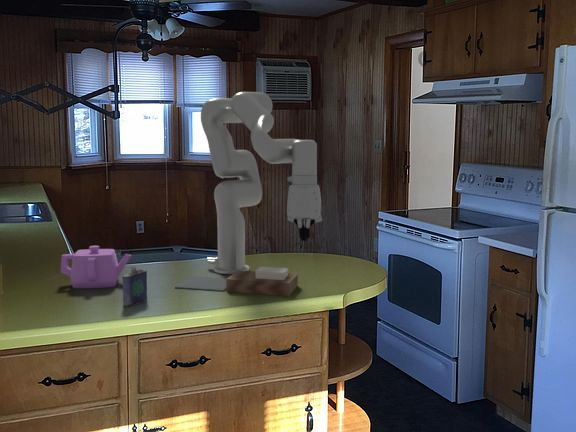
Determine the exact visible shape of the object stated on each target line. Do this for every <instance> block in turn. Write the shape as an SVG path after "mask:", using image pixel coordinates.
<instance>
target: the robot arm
mask: <svg viewBox="0 0 576 432" xmlns="http://www.w3.org/2000/svg"><path fill="white" fill-rule="evenodd" d="M272 111H273V102H272V99H271V98H270V96H269V95H268V94H266V93H265V92H260V91H240V92H237V93H235V94H234V95H233V96H232V97H231V98H229V97H217V98H211V99H208V100H206V101H205V102H204V104H203V105H202V107H201V110H200V122H201V126H202V129H203V131H204V134H205V136H206V140H207V144H208V148H209V156H210V158H211V164H212V168H213V171H214V174H215V176H217V177H218V178H224V179H225V178H239V179H237V180H234V179H233V180H225V181H222V182H220V183H218V184H217V185H216V186H215V188H214V192H213V199H214V202H215V208H216V216H217V220H216V221H217V226H216V227H217V256H216V257H207V258H206V263H207V264H208V265H214V267H213V271H214V272H215V273H217V274H221V275H232V274H234V273H235V272H236V271H238V270H241V271H250V266H249V265H248V264H246V222H245V221H246V220H245V217H244V215H243V213H242V211H241V210H240V208H244V207H245V208H246V207H253V206H257V205H259V203H260V202H261V201H262V197H263V188H262V182H261V178H260V174H259V167H258V162H257V160H256V158H255V156H254V154H253V153H252V152H250V151H249V150H247V149H235V146H234V140H233V137H232V134H231V133H230V132H229V129H227V128H226V127H225V125H224V124H244V125H245V127H247V129H248V130H249V131H250V132H251V133H250V140H251V146H252V148H253V150H254V151H255V153H256V154H258V156H260V158H261V159H262V160H263V161H265V162H266V163H268V164H272V165H275V164H276V165H277V164H291V165H292V166H291V175H290V176H287V179H286V180H287V182H290V183H291V184H290V185H289V187H288V192H287V194H288V195H287V202H286V204H287V205H286V206H287V207H286V214H287V221H288V222H291V223H294V224H295V225H296V226H297V227H298V228H299V238H300V241H301V242H308V241H309V239H310V237H311V227H312V226H313V225H314V224H316V223H320V222H322V221H323V218H322V217H323V216H322V214H323V213H322V212H323V211H322V210H323V206H322V197H321V196H322V195H321V188H320V185H319V184H318V144H317V142H316V141H315V140H314V139H300V138H299V139H298V138H272V137H271V136H270V135H269V132H270V131H271V130H272V129H273V127H274V123H275V118H274V116H273V114H272ZM304 219H305V220H306V222H305V224H304Z"/></svg>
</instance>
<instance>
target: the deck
mask: <svg viewBox="0 0 576 432" xmlns="http://www.w3.org/2000/svg"><path fill="white" fill-rule="evenodd" d="M298 275H299V274H298V273H290V272H288V276H287V277H286V278H285V279H284V280H272V279H256V270H254V271H253V270H249V271H241V270H238V271H236V272H235V273H234V274H230V275H229V277H227V278H225V279H226V293H242V294H255V295H271V296H282V297H283V296H285V297H290V296H291V295H292V294H293V292H295V290H296V289H297V287H298V284H299V283H298V282H299V281H298V280H299V276H298Z"/></svg>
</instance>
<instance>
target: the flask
mask: <svg viewBox="0 0 576 432" xmlns="http://www.w3.org/2000/svg"><path fill="white" fill-rule="evenodd" d="M130 269H131V270H130V272H129V273H127V274H124V275H122V305H123V307H126V308H127V307H132V305H133V306H135V305H137V303H138V304H139V303H144V302H146V301H147V300H148V285H147V283H148V281H147V280H148V278H147V277H148V276H147V275H148V274H147V273H148V271H147V270H145V269H137V267H135V266H134V265H133V266H130Z"/></svg>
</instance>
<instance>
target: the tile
mask: <svg viewBox="0 0 576 432" xmlns="http://www.w3.org/2000/svg"><path fill="white" fill-rule="evenodd" d="M255 271H256V279H272V280H284V279H285V278H286V277H287V276H288V273H289V267H287V268H286V267H272V266H271V267H270V266H260V267H258V268H257V269H256V270H255Z"/></svg>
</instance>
